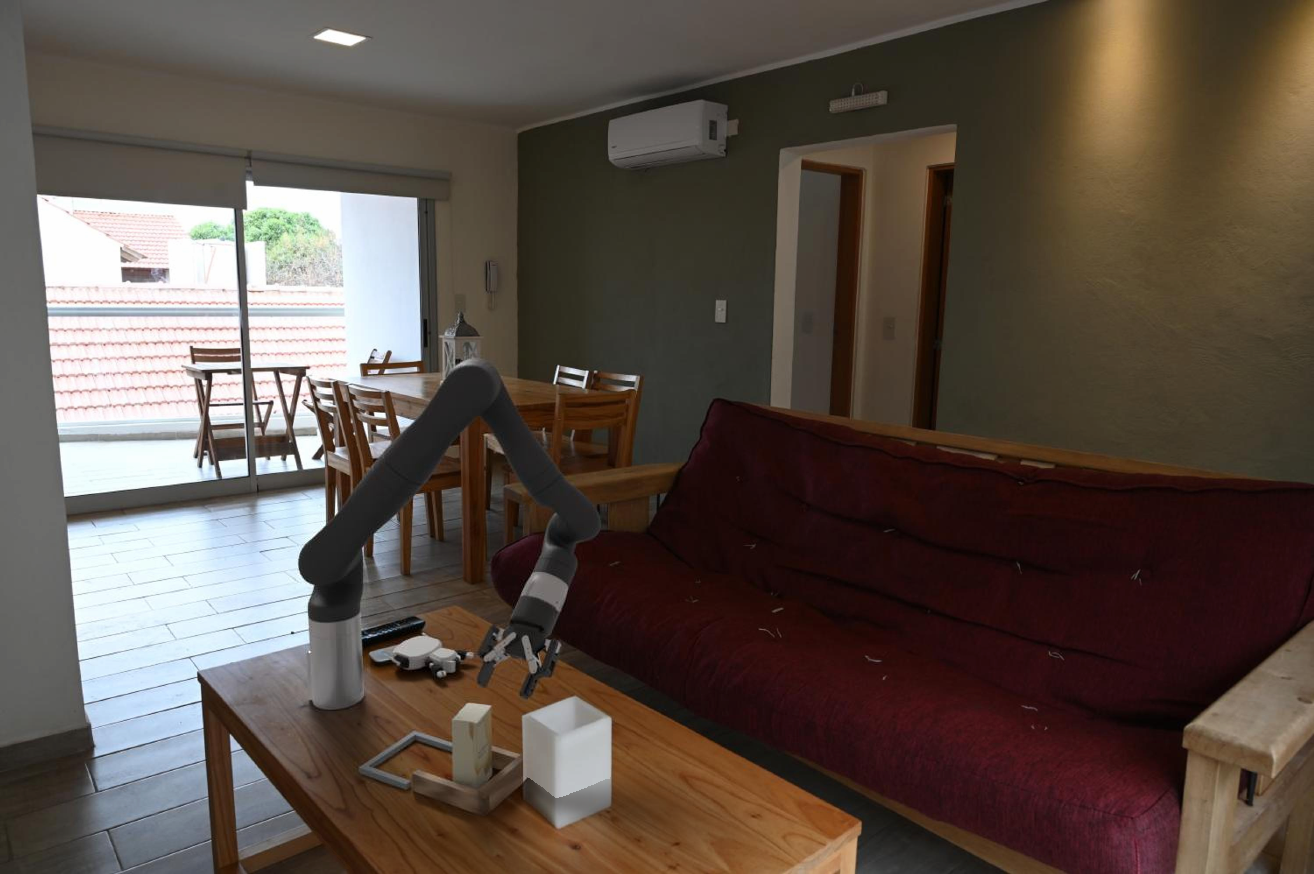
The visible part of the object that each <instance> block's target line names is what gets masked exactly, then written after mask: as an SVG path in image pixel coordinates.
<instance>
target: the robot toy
mask: <svg viewBox="0 0 1314 874" xmlns="http://www.w3.org/2000/svg"><path fill="white" fill-rule="evenodd" d="M383 656H384V657H385V658H387V659H388V660H391V661H392V662H393V664H394V665H395V666H398V667H400V668H402V669H404V670H406V671H410V670H411V671H412V670H418V669H422V668H424V667H426V668H428V669H430V671H431V674H432V675H433V676H434V677H435V678H436V677H438V678H443V677H446V676H447V673H455V672H456V671H458V670H460V669H461V667H462V663H461V661H466V659H467V660H470V659H473V658H474V656H475V655H474V652H471V651H469V652H467V650H466V649H457V650H453V649H449V648H446V647H443V643H442V641H440V639H437V638H434V637H430V636H429V635H428V634H426V633H425V632H422V633H421V635H417V636H414V637H411V638H409V639H406V640H404V641H402V642H401V643H400V644H399V645H397V646H396V647H395V648H394V649H393V650H392V657H391V656H389V655H388V654H387V653H384V654H383Z"/></svg>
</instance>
